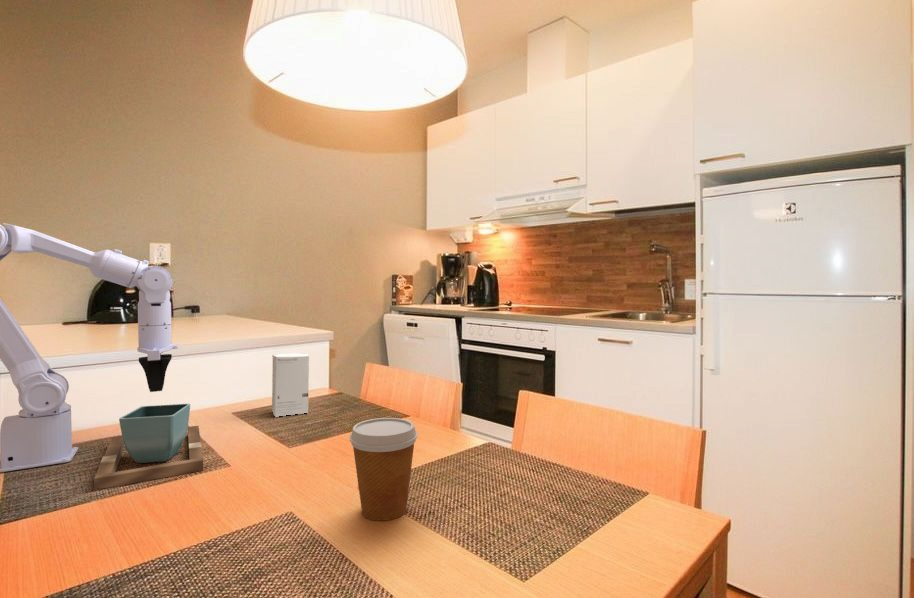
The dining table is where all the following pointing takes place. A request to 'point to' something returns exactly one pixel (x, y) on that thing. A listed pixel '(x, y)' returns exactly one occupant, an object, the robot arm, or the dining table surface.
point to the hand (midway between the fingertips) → (156, 390)
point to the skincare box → (290, 384)
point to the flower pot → (155, 431)
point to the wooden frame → (110, 461)
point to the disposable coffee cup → (383, 465)
